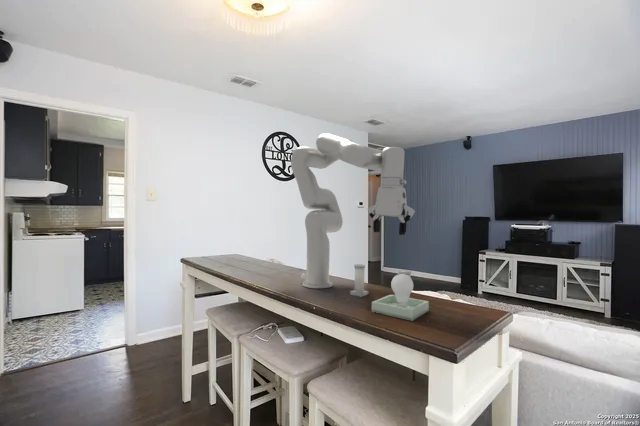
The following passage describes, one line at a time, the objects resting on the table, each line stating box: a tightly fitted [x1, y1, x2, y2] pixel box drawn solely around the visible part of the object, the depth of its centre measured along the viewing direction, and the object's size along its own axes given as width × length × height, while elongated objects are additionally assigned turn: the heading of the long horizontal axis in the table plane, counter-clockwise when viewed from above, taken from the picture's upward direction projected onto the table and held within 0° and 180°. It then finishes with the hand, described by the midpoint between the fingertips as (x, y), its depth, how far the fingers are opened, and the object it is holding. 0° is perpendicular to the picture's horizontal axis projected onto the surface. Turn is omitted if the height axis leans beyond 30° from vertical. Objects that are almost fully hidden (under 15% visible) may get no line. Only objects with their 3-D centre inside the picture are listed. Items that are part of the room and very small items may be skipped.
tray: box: [371, 294, 430, 322], centre depth 99 cm, size 13×13×3 cm
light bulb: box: [390, 273, 414, 308], centre depth 98 cm, size 7×7×11 cm
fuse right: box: [398, 269, 412, 298], centre depth 109 cm, size 5×5×11 cm
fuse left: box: [349, 263, 369, 297], centre depth 120 cm, size 5×5×11 cm
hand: (389, 233), depth 110 cm, fingers open, 9 cm apart
